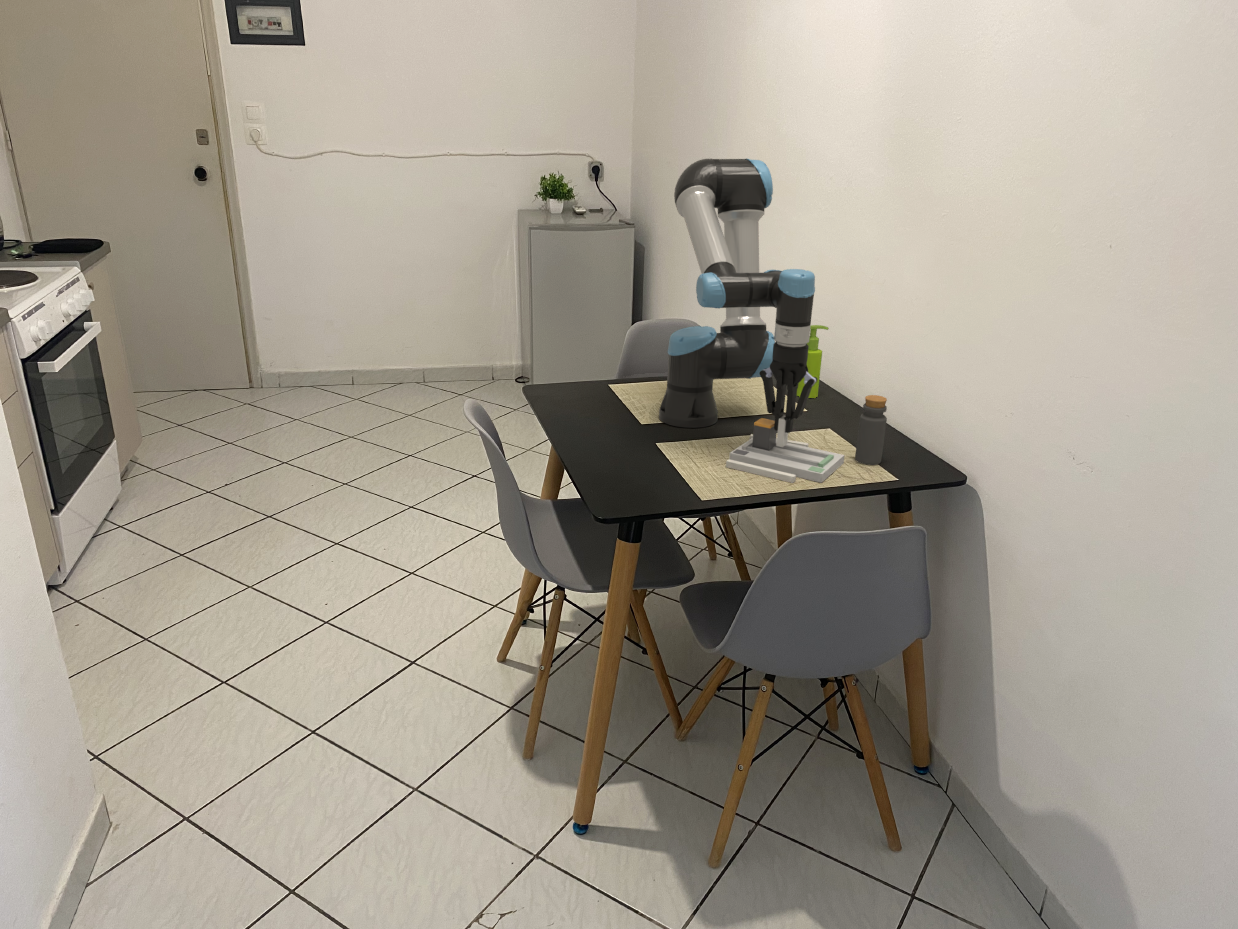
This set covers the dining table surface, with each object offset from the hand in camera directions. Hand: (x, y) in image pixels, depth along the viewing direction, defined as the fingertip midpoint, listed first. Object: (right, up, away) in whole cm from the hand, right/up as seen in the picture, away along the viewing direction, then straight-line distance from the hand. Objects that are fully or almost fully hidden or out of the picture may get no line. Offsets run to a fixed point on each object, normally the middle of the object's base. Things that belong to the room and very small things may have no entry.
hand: (781, 444), depth 200 cm
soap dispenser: (+17, +15, +49) cm, 54 cm away
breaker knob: (-4, 0, +3) cm, 5 cm away
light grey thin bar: (+1, 0, +11) cm, 11 cm away
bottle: (+20, -4, +3) cm, 21 cm away
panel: (+1, -4, +1) cm, 4 cm away
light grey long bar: (-6, -7, -6) cm, 11 cm away
